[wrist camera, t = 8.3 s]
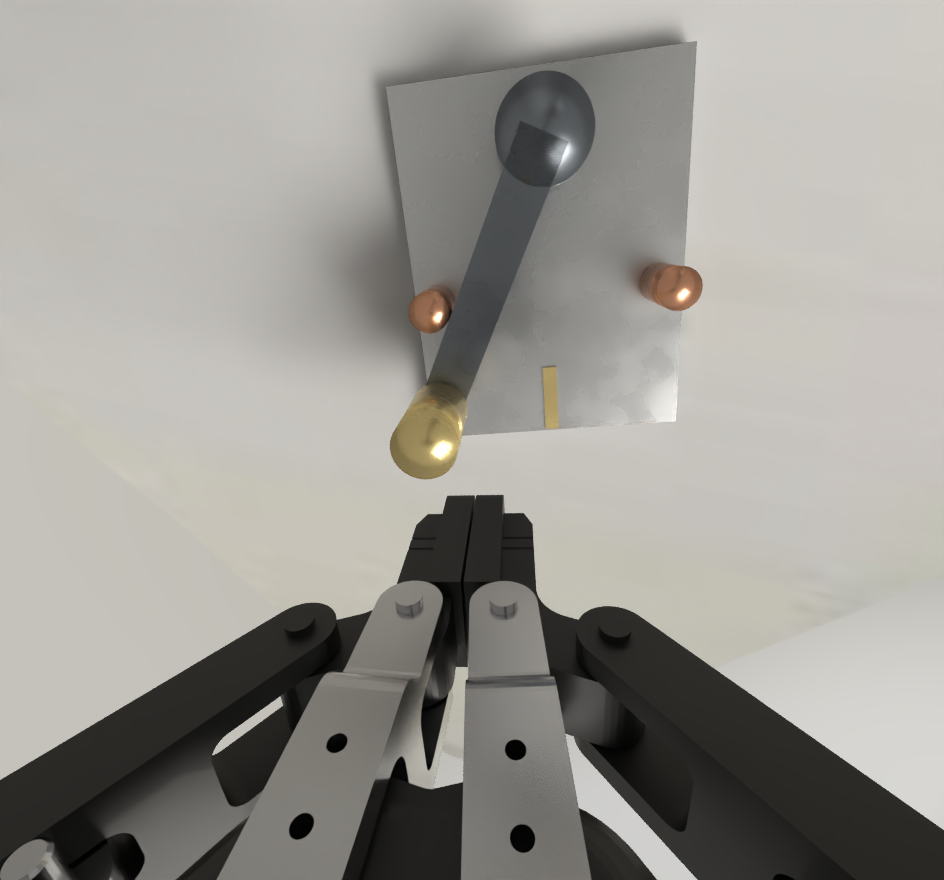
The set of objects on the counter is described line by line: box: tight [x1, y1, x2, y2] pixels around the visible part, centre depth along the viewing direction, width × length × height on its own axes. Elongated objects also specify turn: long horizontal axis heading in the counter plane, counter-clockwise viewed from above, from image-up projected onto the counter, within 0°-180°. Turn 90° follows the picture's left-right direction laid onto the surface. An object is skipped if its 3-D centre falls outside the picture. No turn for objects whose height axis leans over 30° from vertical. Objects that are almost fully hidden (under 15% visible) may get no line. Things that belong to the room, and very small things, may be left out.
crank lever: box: [390, 71, 595, 479], centre depth 19 cm, size 15×4×7 cm, turn 159°
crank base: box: [386, 41, 702, 436], centre depth 23 cm, size 16×13×4 cm
